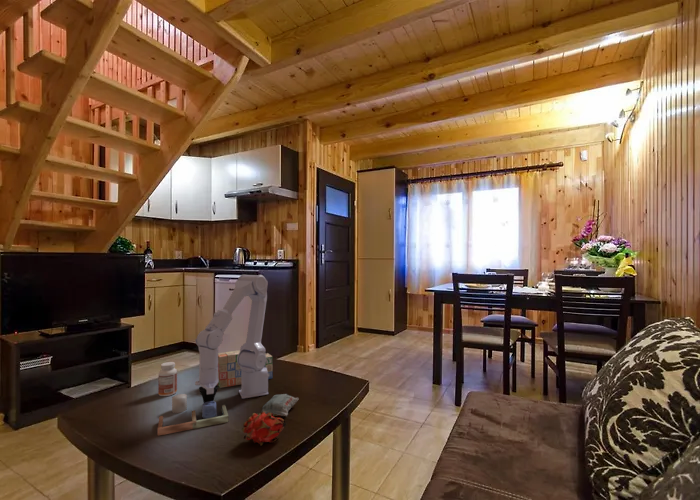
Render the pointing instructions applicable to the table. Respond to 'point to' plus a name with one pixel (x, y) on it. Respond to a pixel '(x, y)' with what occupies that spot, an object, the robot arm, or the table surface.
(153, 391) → the table surface
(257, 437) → the dragon fruit
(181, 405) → the beige rounded cylinder
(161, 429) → the e-shaped wooden rack
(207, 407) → the decorative dice
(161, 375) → the pill bottle
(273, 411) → the packaged food
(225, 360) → the stack of blocks
